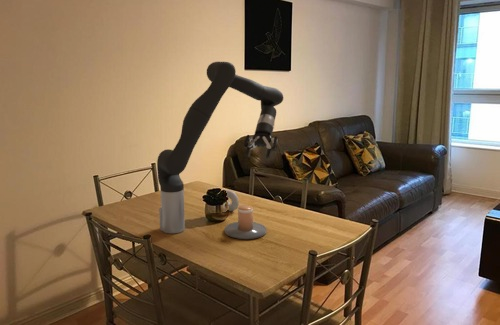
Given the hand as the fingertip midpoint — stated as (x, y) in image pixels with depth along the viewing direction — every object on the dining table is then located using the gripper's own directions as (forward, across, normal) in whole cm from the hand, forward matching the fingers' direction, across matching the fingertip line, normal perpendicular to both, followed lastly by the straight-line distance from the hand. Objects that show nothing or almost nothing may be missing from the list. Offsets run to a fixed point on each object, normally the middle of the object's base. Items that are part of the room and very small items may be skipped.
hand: (257, 156), depth 177 cm
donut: (+14, -16, +27) cm, 35 cm away
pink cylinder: (+29, -1, +10) cm, 30 cm away
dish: (+30, -1, +11) cm, 32 cm away
